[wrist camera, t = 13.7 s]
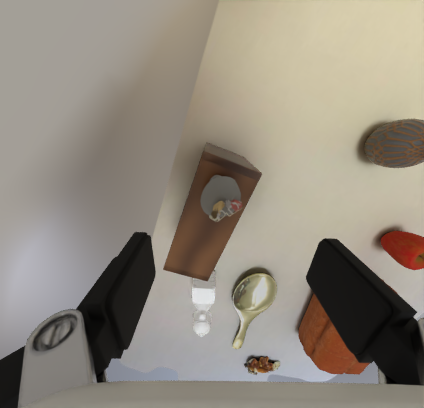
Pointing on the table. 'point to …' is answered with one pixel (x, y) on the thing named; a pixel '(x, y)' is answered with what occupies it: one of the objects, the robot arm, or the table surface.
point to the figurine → (221, 197)
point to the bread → (326, 342)
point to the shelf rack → (200, 222)
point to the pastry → (261, 365)
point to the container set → (203, 304)
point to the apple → (405, 248)
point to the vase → (397, 144)
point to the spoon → (252, 301)
